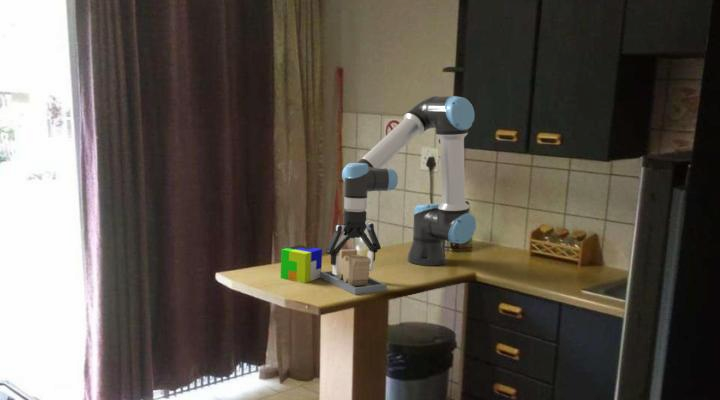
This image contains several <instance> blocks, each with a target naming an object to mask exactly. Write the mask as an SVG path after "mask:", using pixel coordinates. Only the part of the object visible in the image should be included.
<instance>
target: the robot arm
mask: <svg viewBox="0 0 720 400" xmlns="http://www.w3.org/2000/svg"><path fill="white" fill-rule="evenodd" d="M474 121H475V110H474V106H473V104H472V103H471V102H470V101H469V100H468V99H467V98H465V97H462V96H457V95H452V96H436V95H435V96H434V95H433V96H430V97H427V98H425V99H423V100H422V101H420V102H418V103H417V104H416V105H414V106H413V107H412V108H410V109H409V110H408V111H407V112H406V113H405V114H404V115H403V119H402V121H400V122H399V123H398V124H397V125H396V126H395V127H394V128H393V129H392V130H391V131H389V132H388V133H387V134H386V136H384V137H383V138H382V139H381V140H380V141H379V142H378V143H377V144H376V145H374V146H373V147H372V148H371V149H370V150H369V151H368V152H366V154H365V155H363V156H362V158H360V159H359V160H358V161H357V162H349V163H347V164H346V165H345V166H344V167H343V170H342V172H341V178H342V181H343V182H344V205H343V206H344V207H343V208H344V211H343V225H340V224H335V225H334V231H333V234H332V236H331V238H330V240H329V243H328V245H327V247H326V249H325V253H326V254H329V255H330V265H332V267H331V268H332V270H331V271H332V274H334V275H338V270H339V256H340V255H338V254H340V250H342V248H343V247H344V245H346V243H347V242H348V241H349V240H350V239H355V238H358V239H359V238H360V239H361V240H362V242H363V243H364V244H365V245H366V247H367V248H368V249H369V250H368V251H367V255H366V256H367V257H368V258H370V259H371V263H370V265H369V272H373V271H374V262H375V261H376V253H378V251H379V250H381V249H382V247H381V244H380V242H379V239H378V236H377V234H376V232H375V225H374V223H371V222H367V215H368V214H367V213H368V212H367V211H366V210H367V209H368V193H369V192H382V191H383V192H388V191H393V190H395V189H396V187H397V186H398V184H399V183H398V181H399V178H398V177H399V176H398V174H397V172H396V170H395V169H393V168H387V167H385V166H386V164H388V163H389V162H390V161H391V160H392V159H394V157H395V156H396V155H398V153H399V152H400V151H402V150H403V149H404V148H405V147H406V146H407V145H408V144H409V143H410V142H411V141H412V140H413V139H414V138H415V137H416V136H417V135H423V134H424V133H425V132H426V131H427V130H429V129H435V135H436V137H438V138H439V140H440V141H439V145H440V148H439V149H440V151H439V152H440V181H441V203H422V204H417V205H416V206H415V207H414V213H413V230H412V231H413V234H412V236H413V237H412V242H411V246H410V248H409V252H408V253H407V261H408V262H409V263H410V264H414V265H419V266H433V267H434V266H441V265H445V264H447V263H446V262H447V257H446V251H445V248H444V244H443V241H446V242H450V243H452V244H465V243H467V242H468V241H470V240H471V239H472V237H473V235H474V234H475V232H476V228H477V221H476V218H475V216H474V215H473V214H472V213H470V205H469V204H468V203H467V202H466V192H465V191H466V189H465V188H466V182H465V181H466V180H465V179H466V178H465V137H467V135H468V134H469V129H470V128H471V127H472V126H473V123H474ZM383 167H385V168H383ZM366 222H367V223H366ZM366 230H367V233H368V235H367V233H366V232H365V231H366ZM368 236H369V237H368Z"/></svg>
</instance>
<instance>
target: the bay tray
mask: <svg viewBox="0 0 720 400" xmlns="http://www.w3.org/2000/svg"><path fill="white" fill-rule="evenodd" d="M320 278H321V279H323V280H324V281H326V282H329V283H330V284H332V285H334V286H337V287H339V288H340V289H343V290H345V291H347V292H349V293H350V294H352V293H353V294H352V295H354V294H357V295H363V294H362V293H364V294H370V293H371V294H372V293H376V292H377V293H378V292H385V291H387V284H386V283H383V282H381V281H379V280H377V279H375V278H372V277H370V276H369V280H368V283H367V285H366V286H352V285H350V284H348V282H344V280H343V279H339V276H338V275H334V274H332V270H325V271H321V272H320ZM320 278H319V279H320Z"/></svg>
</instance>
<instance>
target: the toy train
mask: <svg viewBox="0 0 720 400" xmlns="http://www.w3.org/2000/svg"><path fill="white" fill-rule="evenodd" d="M338 256H339V270H338V276H339V279H343V280H344V282H348V284H350V285H352V286H366V285H367V283H368V280H369V277H370V271H369V265H370V263H371V259H370V258H368V257H367V255H365V254H359V255H358V251H357V249H355V248H354V249H341V250H340V251H339V255H338Z"/></svg>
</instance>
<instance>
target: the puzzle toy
mask: <svg viewBox="0 0 720 400" xmlns="http://www.w3.org/2000/svg"><path fill="white" fill-rule="evenodd" d="M280 250H281V251H280V279H283V280H288V281H293V282H297V283H302V284H303V283H304V284H306V283H309V282H311V281H314V280H317V279H320V272H322V264H323V263H322V261H323V260H322V259H323V248H318V247H312V246H305V245H299V244H298V245H294V246H290V247H287V248H282V249H280Z"/></svg>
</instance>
